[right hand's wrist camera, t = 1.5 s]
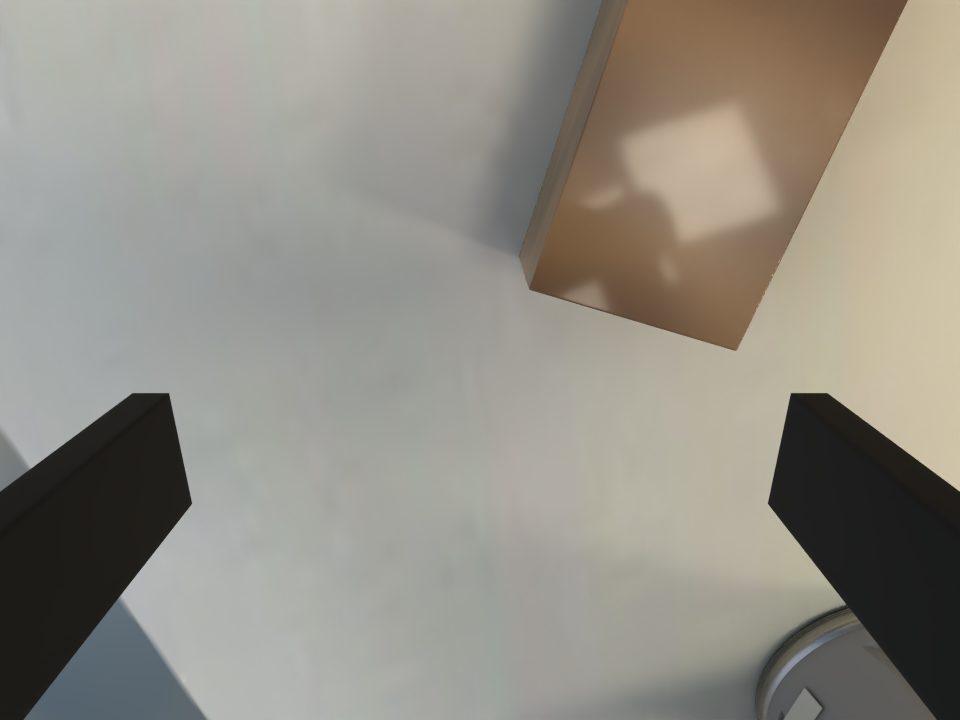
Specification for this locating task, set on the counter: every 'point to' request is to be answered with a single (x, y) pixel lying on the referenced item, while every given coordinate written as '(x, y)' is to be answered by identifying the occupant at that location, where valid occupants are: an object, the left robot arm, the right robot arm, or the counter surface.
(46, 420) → the counter surface
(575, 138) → the wooden beam
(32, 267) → the counter surface
